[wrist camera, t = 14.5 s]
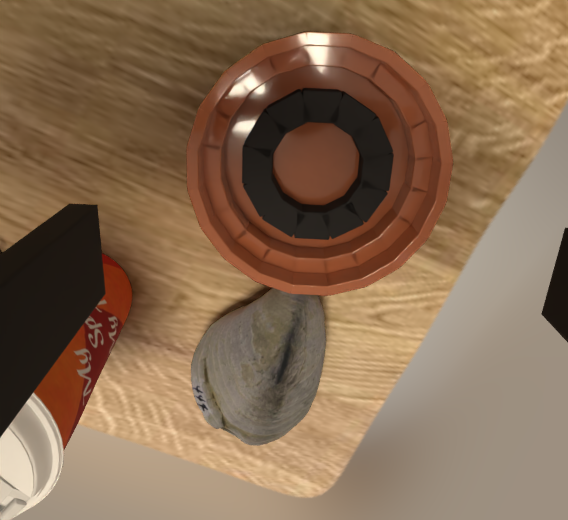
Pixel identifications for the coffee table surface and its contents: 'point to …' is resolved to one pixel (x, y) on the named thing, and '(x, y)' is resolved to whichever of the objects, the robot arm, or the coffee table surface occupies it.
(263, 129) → the ring
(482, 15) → the coffee table surface
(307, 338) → the seashell
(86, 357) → the coffee cup
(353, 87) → the bowl
